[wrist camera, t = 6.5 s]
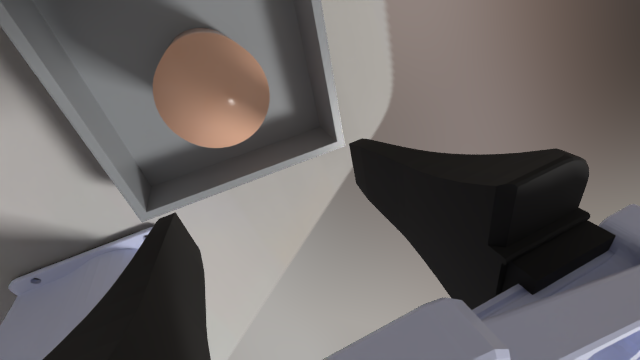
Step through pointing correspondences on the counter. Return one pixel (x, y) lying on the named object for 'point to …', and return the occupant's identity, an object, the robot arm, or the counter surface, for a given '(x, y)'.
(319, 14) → the bin
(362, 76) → the counter surface
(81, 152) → the counter surface
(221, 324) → the counter surface
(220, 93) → the peach rounded cylinder
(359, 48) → the counter surface
